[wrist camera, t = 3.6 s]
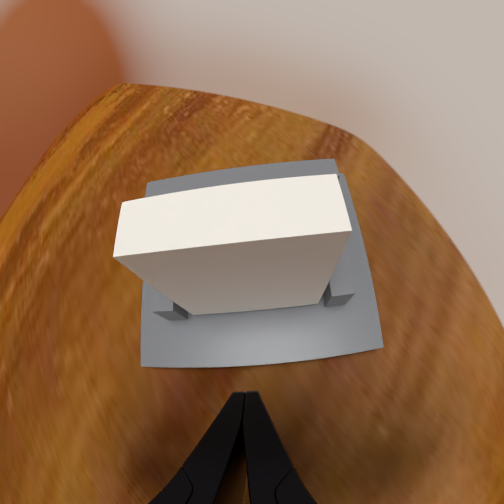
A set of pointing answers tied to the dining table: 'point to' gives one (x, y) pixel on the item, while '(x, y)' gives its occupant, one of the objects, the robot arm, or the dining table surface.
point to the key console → (269, 320)
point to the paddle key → (237, 243)
